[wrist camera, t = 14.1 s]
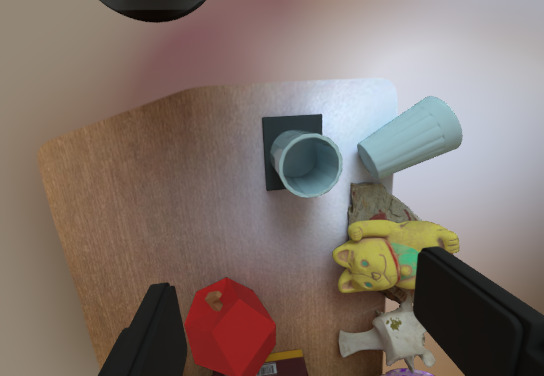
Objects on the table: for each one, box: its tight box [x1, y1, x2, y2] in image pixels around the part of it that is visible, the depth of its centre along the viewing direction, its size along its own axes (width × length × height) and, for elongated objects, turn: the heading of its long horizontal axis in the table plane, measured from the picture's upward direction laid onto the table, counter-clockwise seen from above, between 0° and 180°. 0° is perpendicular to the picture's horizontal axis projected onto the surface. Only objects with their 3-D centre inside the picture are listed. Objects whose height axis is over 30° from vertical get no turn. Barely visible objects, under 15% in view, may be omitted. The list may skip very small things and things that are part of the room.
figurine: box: [332, 220, 459, 293], centre depth 37 cm, size 11×9×15 cm
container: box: [270, 130, 342, 198], centre depth 33 cm, size 7×7×9 cm
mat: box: [262, 114, 322, 191], centre depth 37 cm, size 10×8×1 cm
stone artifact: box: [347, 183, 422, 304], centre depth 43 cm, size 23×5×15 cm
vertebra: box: [339, 292, 435, 373], centre depth 41 cm, size 20×11×10 cm
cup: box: [357, 96, 462, 179], centre depth 36 cm, size 8×8×10 cm
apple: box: [184, 277, 276, 376], centre depth 37 cm, size 12×12×15 cm
